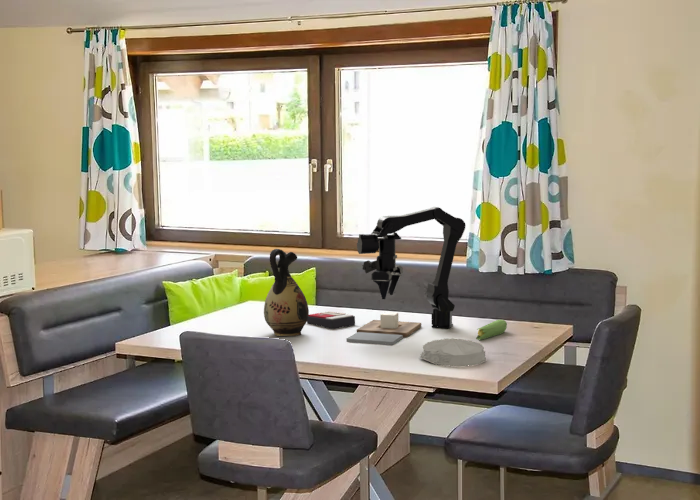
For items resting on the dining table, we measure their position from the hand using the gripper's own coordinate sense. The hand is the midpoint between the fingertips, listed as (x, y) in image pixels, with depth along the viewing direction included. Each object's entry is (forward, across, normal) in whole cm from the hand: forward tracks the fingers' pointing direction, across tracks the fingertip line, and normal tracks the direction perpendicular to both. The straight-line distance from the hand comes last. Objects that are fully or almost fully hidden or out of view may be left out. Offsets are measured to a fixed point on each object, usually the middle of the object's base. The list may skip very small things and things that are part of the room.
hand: (387, 297), depth 302 cm
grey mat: (+12, +16, 0) cm, 20 cm away
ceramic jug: (+12, +16, -32) cm, 38 cm away
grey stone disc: (+12, +34, +30) cm, 47 cm away
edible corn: (+12, -1, +36) cm, 38 cm away
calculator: (+12, -5, -23) cm, 27 cm away
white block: (+12, 0, 0) cm, 12 cm away
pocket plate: (+12, 0, 0) cm, 12 cm away
